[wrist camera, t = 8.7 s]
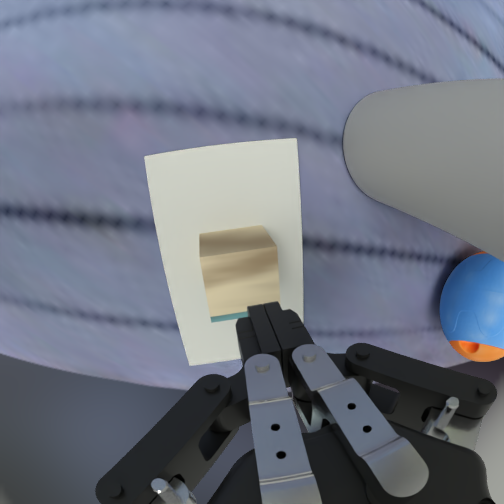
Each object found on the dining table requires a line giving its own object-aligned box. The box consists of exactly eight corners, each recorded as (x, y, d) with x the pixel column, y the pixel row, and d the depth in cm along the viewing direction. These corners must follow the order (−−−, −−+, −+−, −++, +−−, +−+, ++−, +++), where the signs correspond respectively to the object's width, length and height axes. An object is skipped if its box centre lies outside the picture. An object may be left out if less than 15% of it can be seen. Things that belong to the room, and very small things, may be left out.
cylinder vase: (321, 173, 28) (570, 285, 5) (363, 70, 25) (592, 37, 2) (406, 217, 32) (583, 323, 9) (439, 128, 28) (623, 166, 5)
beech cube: (199, 257, 22) (211, 322, 25) (277, 246, 23) (280, 311, 25) (199, 233, 28) (208, 289, 30) (261, 224, 29) (266, 280, 31)
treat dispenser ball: (493, 260, 38) (555, 299, 24) (448, 334, 42) (501, 386, 28) (457, 217, 33) (542, 258, 19) (403, 311, 37) (470, 379, 23)
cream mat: (145, 156, 25) (144, 156, 24) (294, 138, 27) (296, 138, 26) (189, 362, 34) (189, 365, 33) (301, 343, 36) (303, 346, 35)
